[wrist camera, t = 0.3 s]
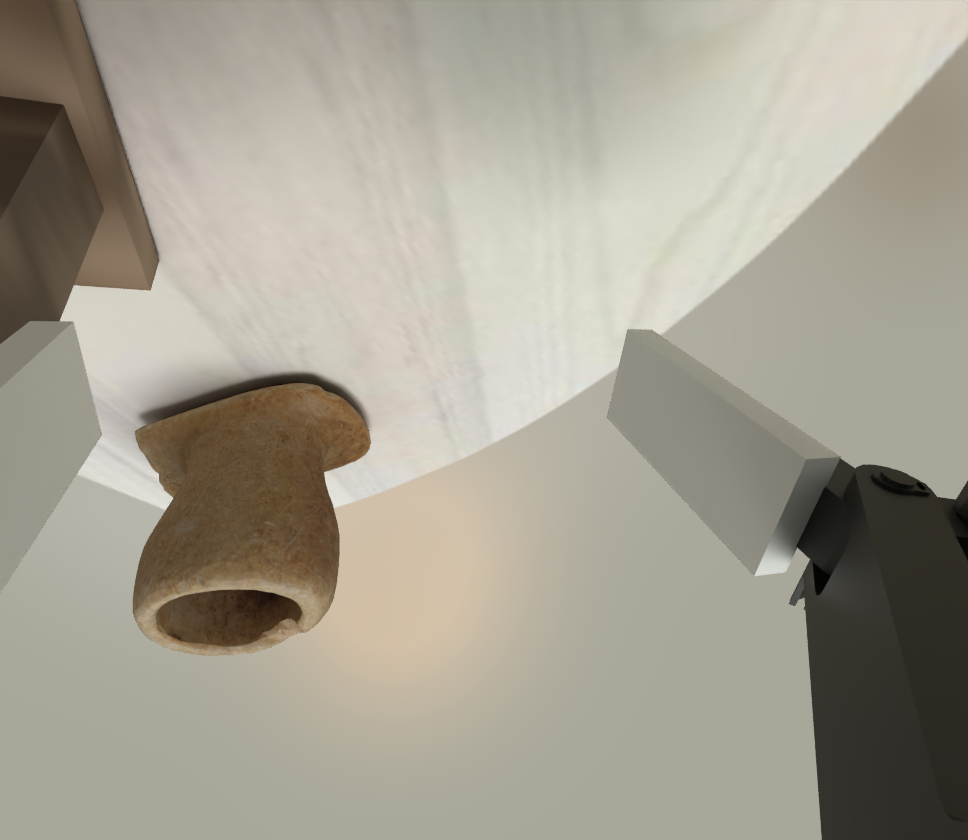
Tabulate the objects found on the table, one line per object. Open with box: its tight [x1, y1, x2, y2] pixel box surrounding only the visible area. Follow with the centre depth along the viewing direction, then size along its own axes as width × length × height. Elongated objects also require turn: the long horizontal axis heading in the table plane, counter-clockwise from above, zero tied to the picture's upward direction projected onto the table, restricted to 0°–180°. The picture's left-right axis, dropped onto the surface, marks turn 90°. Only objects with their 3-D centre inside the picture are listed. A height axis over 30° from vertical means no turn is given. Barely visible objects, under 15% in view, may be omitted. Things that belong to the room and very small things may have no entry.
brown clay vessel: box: [133, 383, 371, 656], centre depth 34 cm, size 15×12×15 cm
